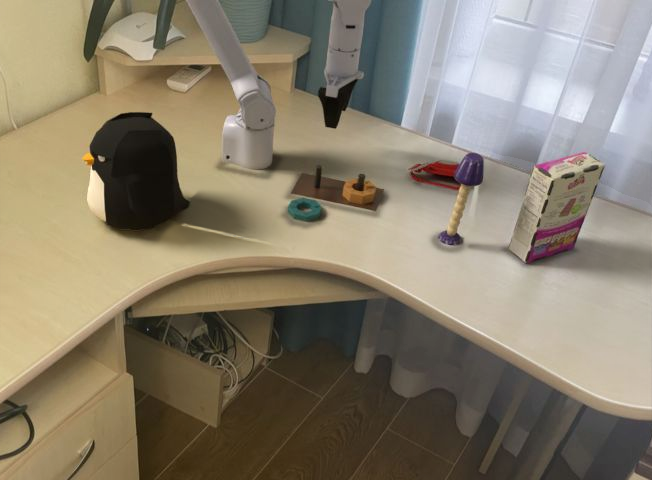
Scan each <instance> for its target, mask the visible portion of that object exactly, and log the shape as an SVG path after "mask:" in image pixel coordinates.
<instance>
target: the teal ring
mask: <svg viewBox="0 0 652 480" xmlns="http://www.w3.org/2000/svg"><path fill="white" fill-rule="evenodd" d="M301 208H305V209H309V210H308V211H303V210H299V209H301ZM322 211H323V206H322V205H321V204H320V203H319V202H318V201H317V199H313V198H308V197H300V198H297V199H291V200H290V202H289V204H288V206H287V211H286V213H287V214H289V216H290V217H291V218H292V219H293V220H297V221H302V222H307V223H309V222H312V221H315V220H318V219H319V218H320V216H321V214H322Z"/></svg>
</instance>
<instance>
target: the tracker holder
mask: <svg viewBox="0 0 652 480" xmlns="http://www.w3.org/2000/svg"><path fill="white" fill-rule="evenodd" d="M459 164H460V163H458V162H455V161H450V160H437V161H434V162H431V163H429V162H424V163H415V164H414V165H411V166H410V167H408V168H407V170H408V171H407V173H408V174H410V176H411V179H413V180H414V181H416V182H418V183H425V184H429V185H434V186H438V187H443V188H446V189H451V190H455V191H456V190H459V189H460V187H461V184H459V185H457V186H454V185H449V184H444V183H440V182H433V181H429V180H426V179H423V178H421V177H419V176H417V175H415V173H417V174H421V173H422V172H424V173H427V174H433V175H438V176H439V175H440V176H448V177H454V173H455V171H456V169H457V168H458V166H459Z"/></svg>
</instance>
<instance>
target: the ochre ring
mask: <svg viewBox="0 0 652 480" xmlns="http://www.w3.org/2000/svg"><path fill="white" fill-rule="evenodd" d="M345 181H346V183H345V185H344V187H343V196H344V197H345V198H346V199H347V200H348V201H349V202H353V203H357V204H366V203H369V202H373V200H374V197H375V194H376V188H378V187H377V186H376V185H375V184H374V183H373V182H372V181H371V180H367V179H365V181H364V187H363V191H362V192H361V191H356V189H357V182H358V177H357V178H353V179H348V180H345Z"/></svg>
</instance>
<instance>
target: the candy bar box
mask: <svg viewBox="0 0 652 480" xmlns="http://www.w3.org/2000/svg"><path fill="white" fill-rule="evenodd" d="M605 166H606V164H605V163H604V162H602V161H601V160H598V159H597V158H596V157H594V156H592V155H591V154H590V153H588V152H585V151H583V152H579V153H575V154H572V155H571V154H570V155H567V156H564V157H561V158H557V159H553V160H550V161H546V162H542V163H538V164H535V165H533V168H532V171H531V175H530V178H529V181H528V184H527V186H526V187H527V188H526V190H525V194H524V197H523V200H522V204H521V207H520V210H519V212H518V216H517V219H516V222H515V226H514V229H513V232H512V236H511V239H510V241H509V244H508V245H509V246H508V249H507V250H508V251H509V252H511V254H512V255H514V256H516V257H517V258H518V259H519V260H520V261H521V262H523V263H524V264H530V263H534V262H536V261H539V260H542V259H545V258H548V257H551V256H554V255H557V254H560V253H562V252H566V251H569V250H573V249H574V248H575V246H576V243H577V240H578V238H579V235H580V232H581V229H582V228H583V224H584V222H585V219H586V216H587V214H588V211H589V208H590V206H591V204H592V200H593V198H594V196H595V193H596V190H597V188H598V185H599V183H600V181H601V178H602V175H603V172H604V169H605Z"/></svg>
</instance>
